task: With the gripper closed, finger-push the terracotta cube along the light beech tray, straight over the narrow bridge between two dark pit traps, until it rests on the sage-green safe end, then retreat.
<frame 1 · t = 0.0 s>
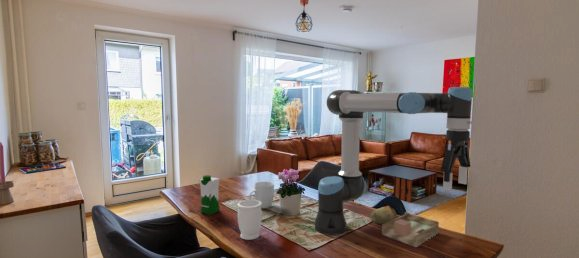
hand: (455, 186, 113), 28 cm above the table, fingers open, 13 cm apart
milk carton: (210, 212, 165), on the table
mug: (262, 207, 173), on the table
terracotta block: (402, 233, 133), point 2 cm above the table, touching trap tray
pastry: (384, 222, 152), on the table
jar: (250, 236, 136), on the table
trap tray: (410, 234, 138), on the table
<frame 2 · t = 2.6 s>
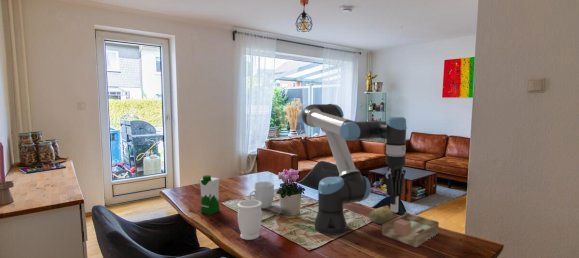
hand: (394, 211, 127), 14 cm above the table, fingers closed
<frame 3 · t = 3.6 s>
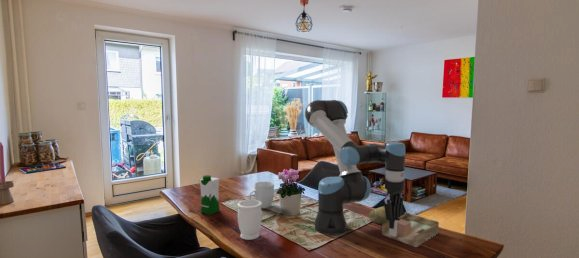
hand: (392, 235, 128), 4 cm above the table, fingers closed
nothing on the table moved.
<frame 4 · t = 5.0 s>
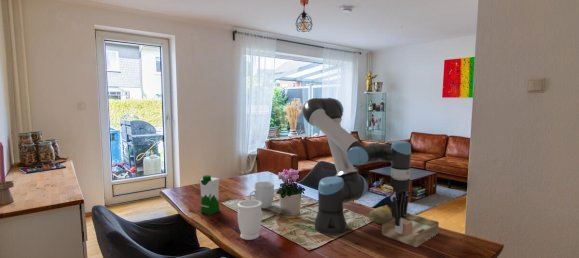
hand: (398, 232, 130), 4 cm above the table, fingers closed
terracotta block: (403, 232, 133), point 2 cm above the table, touching gripper, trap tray
everything else where it was.
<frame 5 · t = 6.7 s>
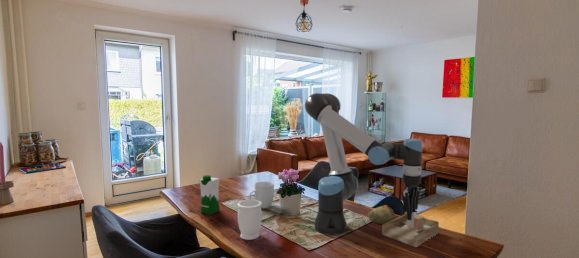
hand: (410, 226, 136), 4 cm above the table, fingers closed
terracotta block: (415, 227, 139), point 3 cm above the table, touching gripper, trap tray
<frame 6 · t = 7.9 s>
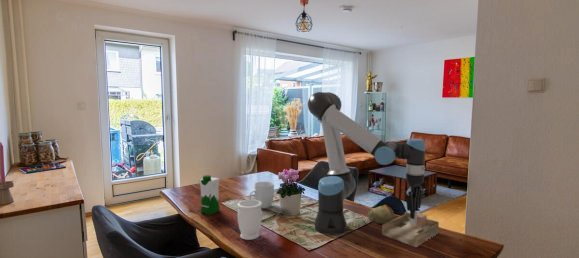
hand: (413, 224, 138), 4 cm above the table, fingers closed
terracotta block: (418, 225, 141), point 2 cm above the table, touching gripper, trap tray
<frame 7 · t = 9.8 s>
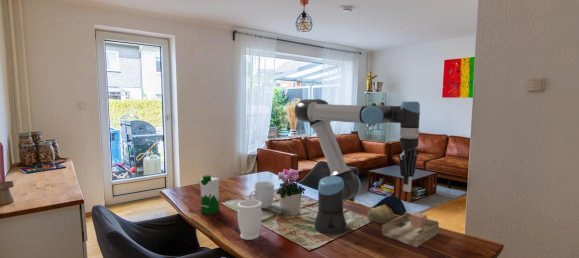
hand: (407, 191, 133), 21 cm above the table, fingers closed
terracotta block: (418, 225, 141), point 2 cm above the table, touching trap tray
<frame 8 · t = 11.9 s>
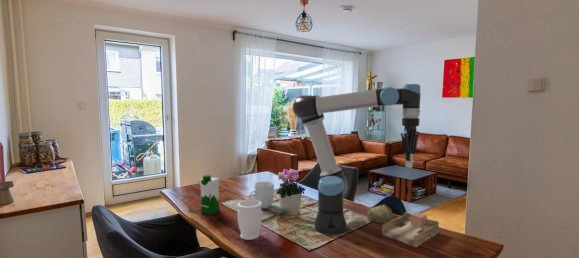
hand: (408, 167, 145), 28 cm above the table, fingers closed
at the end: terracotta block inside the target area on the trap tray (0.6 cm from its centre), point 2.5 cm above the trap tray's base; terracotta block tilted 0°; terracotta block touching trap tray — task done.
